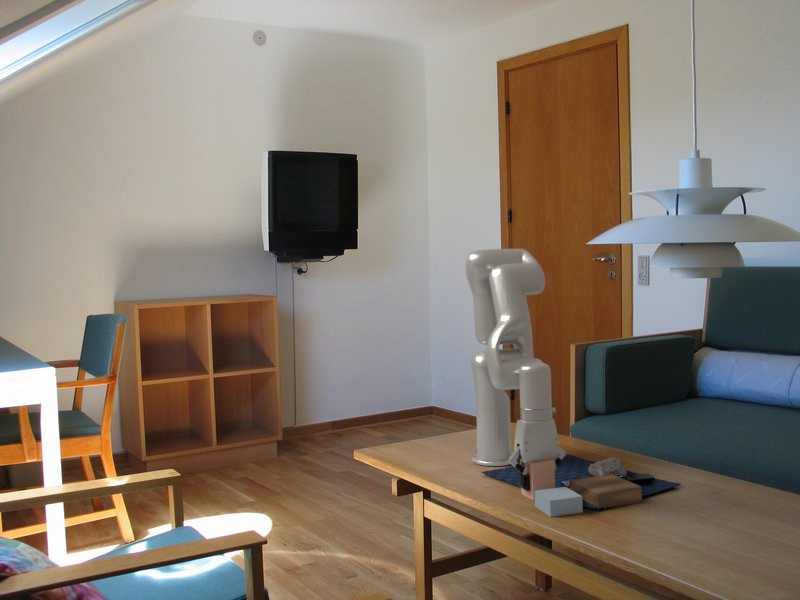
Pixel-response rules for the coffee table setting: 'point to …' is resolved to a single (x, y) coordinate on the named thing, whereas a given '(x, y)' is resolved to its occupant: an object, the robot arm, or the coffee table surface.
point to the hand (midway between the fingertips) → (538, 486)
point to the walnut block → (606, 490)
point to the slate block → (558, 501)
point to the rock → (607, 467)
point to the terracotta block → (540, 477)
